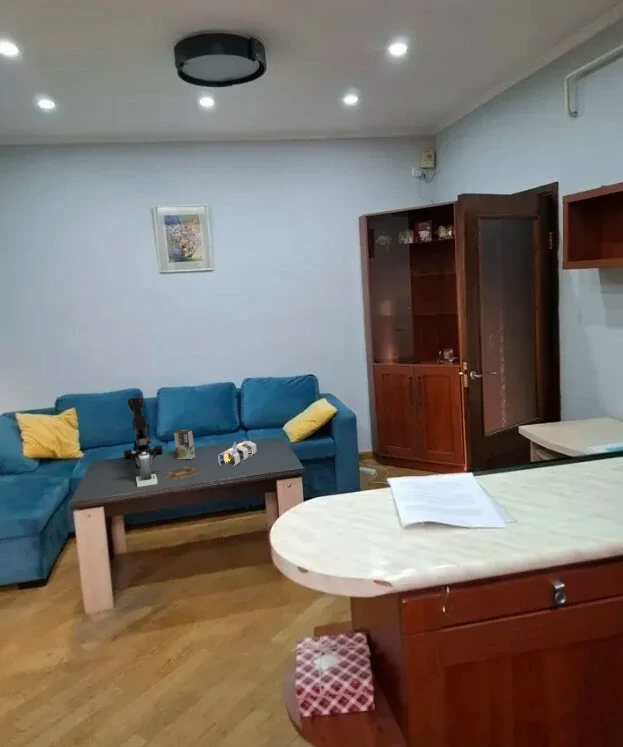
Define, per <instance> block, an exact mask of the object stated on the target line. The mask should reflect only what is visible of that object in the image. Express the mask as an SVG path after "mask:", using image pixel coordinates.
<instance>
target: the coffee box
mask: <svg viewBox="0 0 623 747" xmlns="http://www.w3.org/2000/svg"><path fill="white" fill-rule="evenodd" d="M173 436H174V443H175V445H174V446H175V454H176V460H177V459H191V460H193V459H194V458H196V450H195V440H194V430H193V429H178V430H176V431H174V433H173ZM192 458H193V459H192Z"/></svg>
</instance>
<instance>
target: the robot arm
mask: <svg viewBox="0 0 623 747" xmlns="http://www.w3.org/2000/svg"><path fill="white" fill-rule="evenodd" d="M127 407H129V411H130V412H131V413H132V422H131V428H132V430H133V431H134V437H135V440H134V442H133V447H132V448H131V449H129V448H128V449H124V451H123V458H124V461H128V460H131V461H134V463H135V466H134V469H140V462H139V454H140V453H142V452H148V453H149V456H150V467H152V465H153V461H154V459H155V458H156V457H157V456H162V455H163V446H162V444H158V445H153V448H151V447H150V445H151V444H152V437H151V436H148V433H147V431H148V430H147V428H149V427H150V426H149V421H147V420H146V417H145V416H144V415H143V412H142V410H143V407H144V397H141V396H134V397H129V399H127Z"/></svg>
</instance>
